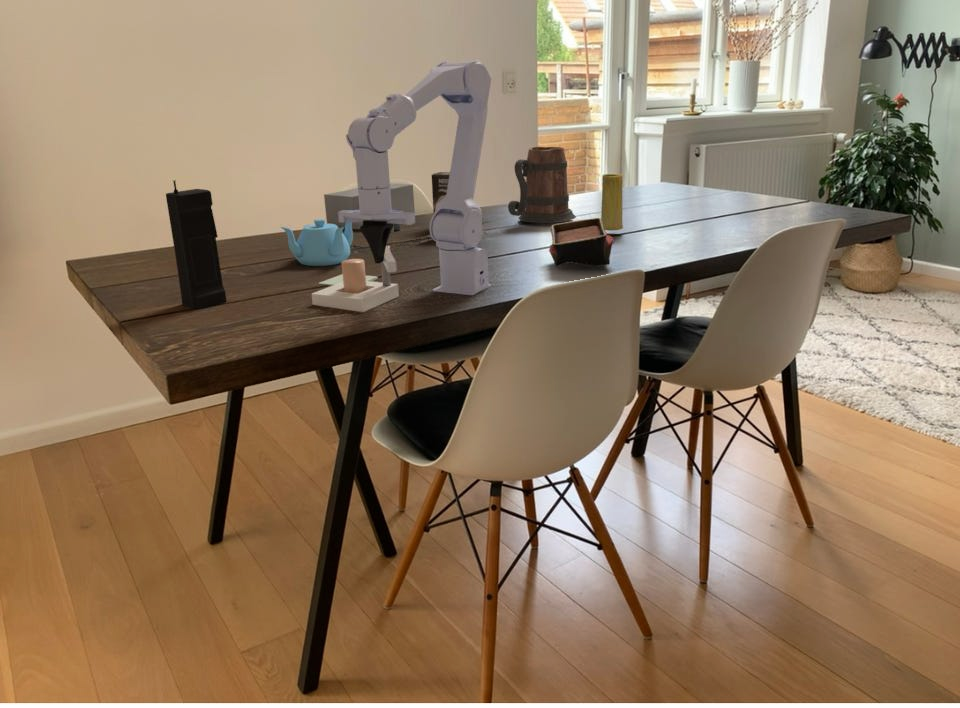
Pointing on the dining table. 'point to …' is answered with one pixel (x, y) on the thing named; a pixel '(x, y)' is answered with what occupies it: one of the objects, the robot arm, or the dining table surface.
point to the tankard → (542, 187)
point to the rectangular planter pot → (581, 243)
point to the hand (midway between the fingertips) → (379, 262)
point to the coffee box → (440, 187)
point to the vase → (612, 201)
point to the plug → (354, 275)
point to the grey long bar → (389, 260)
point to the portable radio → (195, 248)
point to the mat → (340, 279)
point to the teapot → (321, 243)
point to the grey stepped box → (350, 201)
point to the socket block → (358, 295)
